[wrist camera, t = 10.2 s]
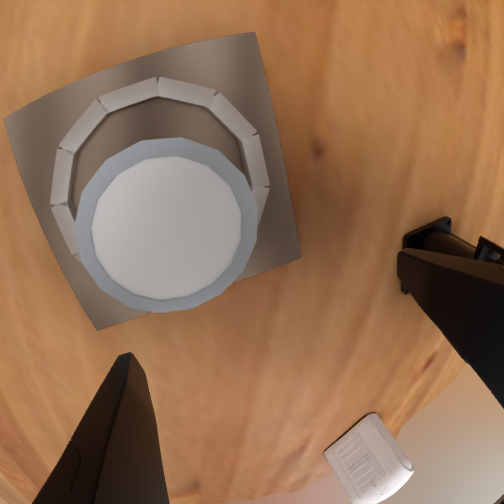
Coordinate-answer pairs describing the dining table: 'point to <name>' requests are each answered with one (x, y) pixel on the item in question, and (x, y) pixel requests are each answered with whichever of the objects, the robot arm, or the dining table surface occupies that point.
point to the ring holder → (148, 128)
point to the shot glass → (166, 225)
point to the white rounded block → (369, 462)
